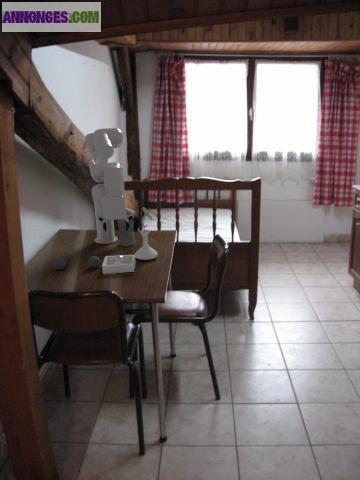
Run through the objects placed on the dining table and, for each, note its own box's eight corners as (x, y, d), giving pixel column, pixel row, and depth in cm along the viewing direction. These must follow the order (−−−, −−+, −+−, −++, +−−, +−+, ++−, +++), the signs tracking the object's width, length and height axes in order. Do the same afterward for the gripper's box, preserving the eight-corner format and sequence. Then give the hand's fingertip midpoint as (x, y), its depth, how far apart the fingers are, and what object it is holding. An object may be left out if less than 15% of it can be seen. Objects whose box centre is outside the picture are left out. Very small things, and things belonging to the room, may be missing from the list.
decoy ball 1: (55, 267, 225) (54, 256, 224) (67, 266, 225) (66, 255, 224) (53, 271, 220) (51, 260, 218) (65, 270, 220) (63, 259, 218)
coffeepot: (112, 245, 256) (109, 212, 251) (122, 240, 264) (119, 208, 259) (136, 248, 249) (134, 214, 244) (145, 243, 257) (143, 210, 252)
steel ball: (113, 269, 218) (112, 257, 216) (114, 264, 223) (113, 253, 221) (125, 268, 218) (124, 257, 216) (125, 264, 223) (125, 253, 221)
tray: (106, 264, 227) (105, 256, 226) (135, 262, 227) (134, 254, 226) (102, 274, 214) (102, 266, 212) (134, 272, 214) (133, 264, 213)
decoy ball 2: (89, 265, 226) (88, 254, 224) (101, 265, 226) (100, 254, 224) (87, 269, 220) (86, 258, 219) (99, 269, 220) (98, 257, 219)
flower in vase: (157, 261, 228) (154, 210, 221) (133, 262, 228) (130, 211, 221) (158, 252, 240) (156, 204, 233) (136, 253, 240) (132, 205, 233)
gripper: (93, 196, 207) (96, 233, 212) (132, 194, 207) (135, 232, 212) (95, 192, 214) (98, 229, 219) (133, 190, 214) (136, 227, 219)
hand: (116, 230), depth 216 cm, fingers open, 9 cm apart
